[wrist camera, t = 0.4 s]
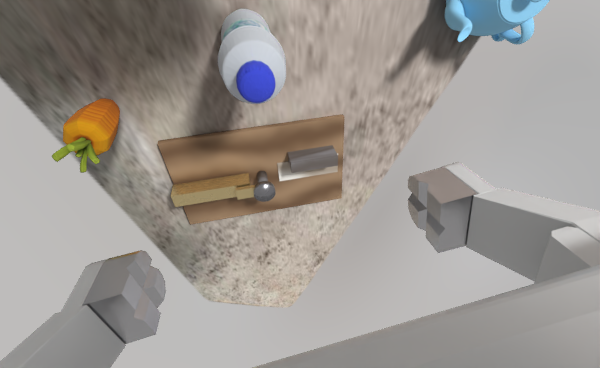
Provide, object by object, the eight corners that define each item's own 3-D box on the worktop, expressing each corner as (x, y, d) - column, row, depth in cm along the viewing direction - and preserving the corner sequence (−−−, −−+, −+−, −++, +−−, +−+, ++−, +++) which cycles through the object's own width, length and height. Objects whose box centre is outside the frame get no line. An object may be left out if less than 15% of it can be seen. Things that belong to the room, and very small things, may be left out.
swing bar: (270, 166, 53) (274, 183, 50) (273, 182, 56) (276, 199, 52) (171, 182, 51) (167, 200, 48) (178, 198, 54) (175, 217, 50)
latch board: (158, 140, 48) (152, 158, 44) (342, 114, 51) (352, 128, 48) (190, 220, 59) (188, 240, 56) (339, 194, 63) (347, 211, 59)
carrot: (138, 101, 44) (108, 158, 32) (120, 124, 45) (84, 187, 34) (103, 77, 41) (55, 130, 30) (84, 103, 43) (32, 163, 31)
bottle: (252, 68, 44) (266, 136, 29) (209, 38, 41) (201, 97, 25) (279, 27, 42) (312, 78, 26) (237, -9, 38) (246, 25, 23)
